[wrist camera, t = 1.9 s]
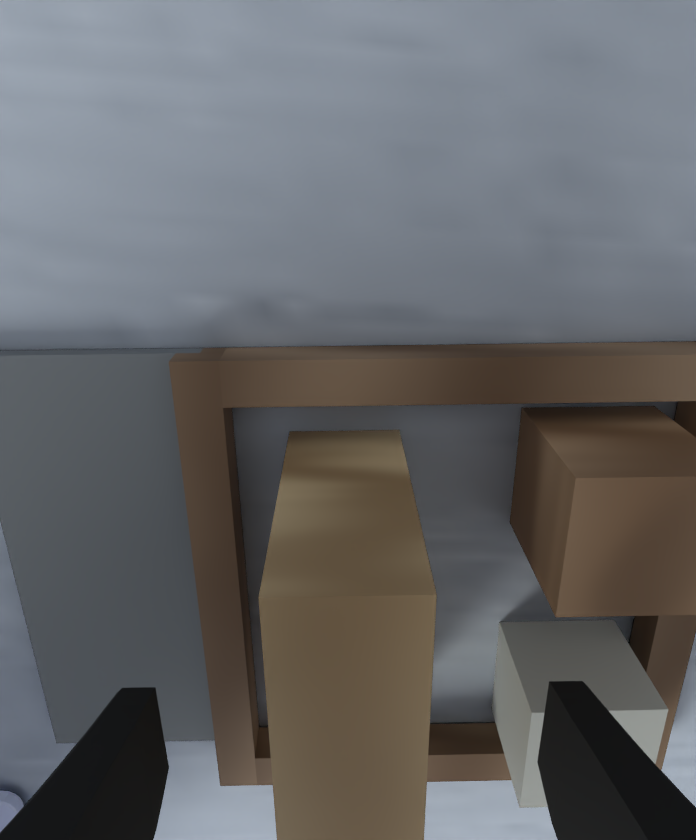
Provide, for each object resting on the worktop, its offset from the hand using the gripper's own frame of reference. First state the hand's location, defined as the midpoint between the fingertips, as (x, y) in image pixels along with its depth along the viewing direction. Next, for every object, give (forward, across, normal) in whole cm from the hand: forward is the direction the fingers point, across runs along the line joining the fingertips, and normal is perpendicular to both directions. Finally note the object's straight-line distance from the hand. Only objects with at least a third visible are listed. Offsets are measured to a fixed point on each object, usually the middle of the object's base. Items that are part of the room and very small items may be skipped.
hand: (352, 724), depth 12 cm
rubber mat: (+4, +6, 0) cm, 7 cm away
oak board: (+5, 0, 0) cm, 5 cm away
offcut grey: (+5, -5, +3) cm, 8 cm away
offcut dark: (+5, -5, -3) cm, 8 cm away
